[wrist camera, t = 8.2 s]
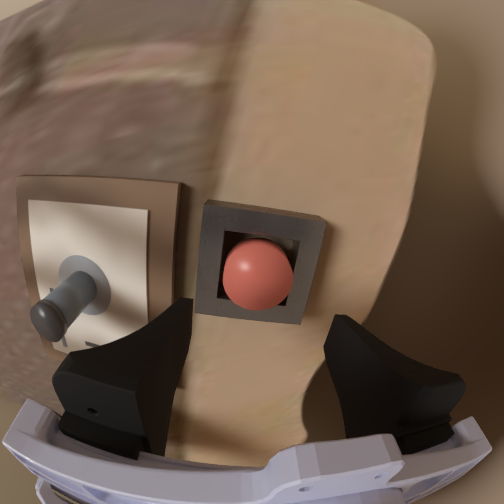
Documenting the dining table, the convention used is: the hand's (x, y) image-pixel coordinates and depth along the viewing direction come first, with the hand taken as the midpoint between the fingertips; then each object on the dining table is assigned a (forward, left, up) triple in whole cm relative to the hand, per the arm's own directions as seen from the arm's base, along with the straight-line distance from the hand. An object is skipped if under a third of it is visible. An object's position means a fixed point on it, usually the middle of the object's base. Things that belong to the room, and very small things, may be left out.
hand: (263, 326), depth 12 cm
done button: (0, 0, -7) cm, 7 cm away
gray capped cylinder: (-4, +14, -7) cm, 16 cm away
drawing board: (-5, +14, -8) cm, 17 cm away
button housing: (0, 0, -8) cm, 8 cm away
